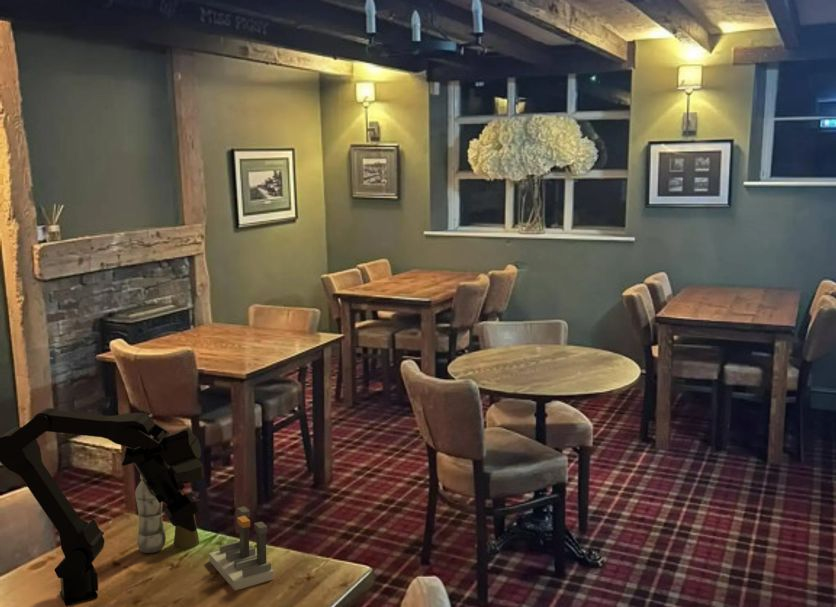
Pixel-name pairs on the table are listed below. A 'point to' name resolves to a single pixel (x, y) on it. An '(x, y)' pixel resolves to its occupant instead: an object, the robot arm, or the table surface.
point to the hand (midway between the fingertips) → (186, 519)
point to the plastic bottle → (149, 520)
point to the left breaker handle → (243, 512)
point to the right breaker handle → (261, 542)
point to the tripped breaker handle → (244, 536)
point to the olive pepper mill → (185, 538)
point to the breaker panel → (240, 566)
